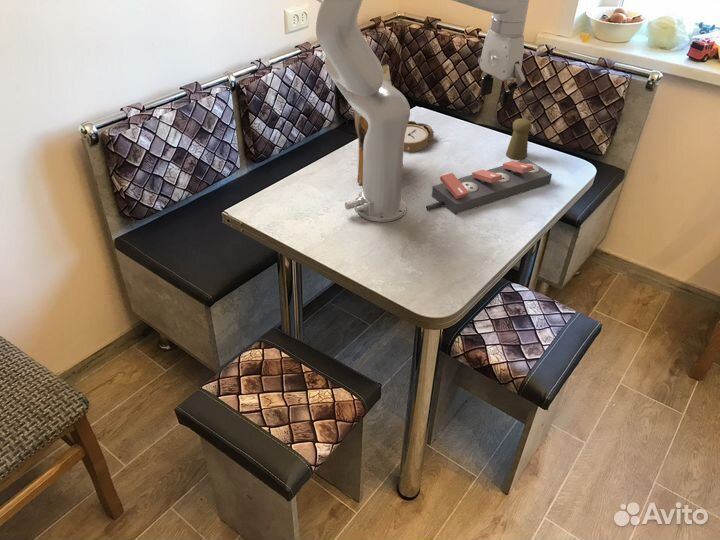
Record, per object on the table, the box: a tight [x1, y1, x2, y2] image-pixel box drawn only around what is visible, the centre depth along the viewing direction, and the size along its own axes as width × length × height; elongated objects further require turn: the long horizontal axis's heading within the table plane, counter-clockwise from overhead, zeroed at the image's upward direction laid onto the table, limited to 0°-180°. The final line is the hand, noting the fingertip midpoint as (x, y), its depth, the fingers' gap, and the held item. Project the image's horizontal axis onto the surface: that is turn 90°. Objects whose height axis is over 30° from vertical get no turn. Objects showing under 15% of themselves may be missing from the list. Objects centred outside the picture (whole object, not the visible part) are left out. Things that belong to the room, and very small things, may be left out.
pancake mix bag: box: [353, 63, 393, 186], centre depth 162 cm, size 7×19×28 cm, turn 143°
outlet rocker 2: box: [471, 169, 502, 183], centre depth 161 cm, size 4×8×2 cm, turn 30°
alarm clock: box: [403, 120, 435, 153], centre depth 185 cm, size 11×5×15 cm
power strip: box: [425, 158, 553, 215], centre depth 162 cm, size 37×10×3 cm, turn 120°
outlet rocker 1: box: [439, 172, 469, 199], centre depth 157 cm, size 4×8×2 cm, turn 30°
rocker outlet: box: [502, 160, 533, 173], centre depth 165 cm, size 4×8×2 cm, turn 30°
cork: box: [505, 117, 532, 161], centre depth 177 cm, size 6×6×11 cm
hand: (495, 99), depth 153 cm, fingers open, 7 cm apart
